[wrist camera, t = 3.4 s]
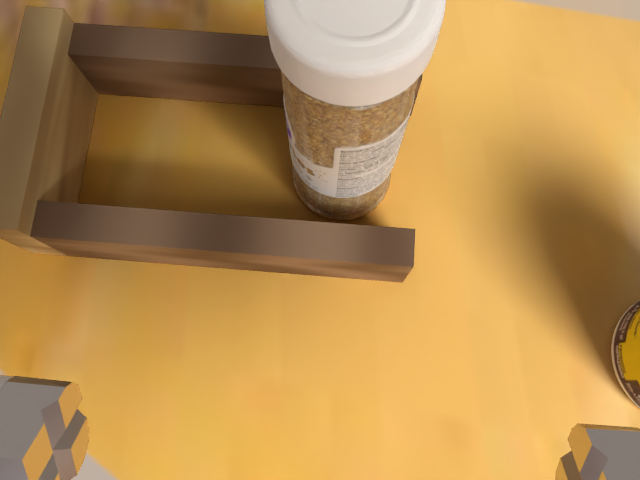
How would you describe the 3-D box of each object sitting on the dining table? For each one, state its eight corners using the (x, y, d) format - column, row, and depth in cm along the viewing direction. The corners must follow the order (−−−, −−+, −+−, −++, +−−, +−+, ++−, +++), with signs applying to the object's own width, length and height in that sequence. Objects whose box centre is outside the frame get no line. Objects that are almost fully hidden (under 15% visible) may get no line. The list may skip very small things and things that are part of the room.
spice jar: (279, 148, 28) (237, -62, 15) (370, 118, 28) (408, -115, 15) (312, 238, 27) (297, 96, 14) (406, 205, 27) (479, 35, 14)
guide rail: (412, 86, 29) (427, 32, 24) (402, 282, 26) (417, 261, 22) (71, 63, 29) (26, 6, 25) (32, 253, 27) (-25, 226, 22)
